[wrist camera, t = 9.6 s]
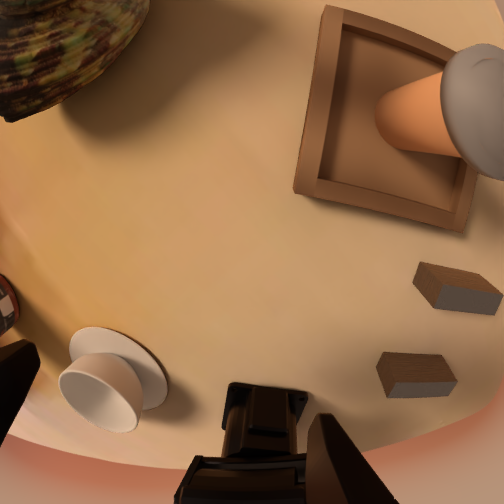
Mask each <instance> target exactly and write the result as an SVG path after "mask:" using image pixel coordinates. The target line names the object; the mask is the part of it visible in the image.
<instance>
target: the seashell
mask: <svg viewBox="0 0 504 504" xmlns="http://www.w3.org/2000/svg"><path fill="white" fill-rule="evenodd" d="M149 3H150V0H0V116H2V117H4V119H5V121H6V122H10V123H13V122H16V121H18V120H20V119H23V118H26V117H28V116H31V115H33V114H36V113H39V112H41V111H44V110H47V109H49V108H51V107H53V106H54V105H57V104H59V103H61V102H62V101H63V100H65V99H66V98H68V97H69V96H71V95H72V94H74V93H75V92H77V91H78V90H79V89H81V88H82V87H83V86H84V85H86V84H88V83H90V82H91V81H93V80H94V79H95V78H97V77H98V76H99V75H101V74H102V73H103V72H104V71H105V70H106V69H107V68H108V67H109V66H110V65H111V64H112V63H113V62H114V61H115V60H116V58H117V57H118V56H119V54H120V53H121V52H122V51H123V49H124V48H125V47H126V46H127V45H128V44H129V43H130V41H131V40H132V38H133V37H134V36H135V35H136V34H137V33H138V31H139V30H140V28H141V26H142V25H143V23H144V21H145V18H146V16H147V14H148V11H149V8H150V5H149Z"/></svg>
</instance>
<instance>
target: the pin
mask: <svg viewBox="0 0 504 504" xmlns="http://www.w3.org/2000/svg"><path fill="white" fill-rule="evenodd" d="M375 123H376V127H377V129H378V131H379V133H380V135H381V136H382V138H383V139H384V140H385V141H386V142H387V143H388V144H390V145H391V146H393V147H394V148H397V149H401V150H409V151H418V152H426V153H434V154H441V155H448V156H455V157H461V158H463V160H464V161H465V162H466V163H467V164H468V165H469V166H470V167H471V168H472V169H474V170H475V171H476V172H478V173H480V174H482V175H484V176H487V177H490V178H494V179H498V180H501V181H504V50H502V49H501V48H499V47H496V46H494V45H490V44H476V45H474V46H471V47H468V48H466V49H463V50H460V51H458V52H457V53H455V54H454V55H453V56H452V57H451V58H450V59H449V61H448V62H447V64H446V66H445V68H444V70H443V72H440V73H437V74H434V75H431V76H429V77H426V78H423V79H420V80H418V81H415V82H412V83H410V84H407V85H404V86H402V87H399V88H397V89H394V90H391V91H389V92H387V93H385V94H384V95H383V96H382V97H381V98H380V99H379V101H378V103H377V105H376V108H375Z"/></svg>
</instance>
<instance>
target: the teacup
mask: <svg viewBox="0 0 504 504" xmlns="http://www.w3.org/2000/svg"><path fill="white" fill-rule="evenodd" d="M69 352H70V357H71V361H72V364H71V365H70V366H69V367H68V368H67V369H65V370H64V371H63V372H62V373H61V375H60V377H59V381H58V383H59V388H60V391H61V393H62V395H63V397H64V399H65V400H66V402H67V403H68V404H69V405H70V406H71V408H72V409H73V410H74V411H75V412H77V413H78V414H79V415H80V416H81V417H83V418H84V419H85V420H87V421H88V422H90V423H92V424H93V425H95V426H97V427H99V428H102V429H104V430H107V431H110V432H115V433H128V432H131V431H133V430H134V429H135V428H136V427H137V425H138V422H139V418H140V415H141V411H142V410H149V409H153V408H156V407H158V406H159V405H160V404H162V403H163V402H164V400H165V398H166V396H167V392H168V386H167V381H166V378H165V375H164V373H163V371H162V370H161V368H160V366H159V365H158V364H157V362H156V361H155V360H154V359H153V357H152V356H151V355H150V354H149V353H148V352H147V351H146V350H144V349H143V348H142V347H141V346H139V345H138V344H137V343H135V342H134V341H132V340H131V339H129V338H128V337H126V336H124V335H122V334H120V333H118V332H115V331H112V330H109V329H106V328H101V327H87V328H83V329H81V330H79V331H77V332H76V333H75V334H74V335H73V337H72V338H71V341H70V345H69Z"/></svg>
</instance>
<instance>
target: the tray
mask: <svg viewBox="0 0 504 504" xmlns="http://www.w3.org/2000/svg"><path fill="white" fill-rule="evenodd" d="M455 53H457V52H455V51H453V50H451V49H449V48H447V47H445V46H443V45H441V44H439V43H437V42H435V41H433V40H430V39H428V38H426V37H424V36H421V35H419V34H417V33H414V32H412V31H409V30H407V29H404V28H402V27H399V26H396V25H394V24H391V23H388V22H385V21H382V20H379V19H376V18H373V17H370V16H367V15H364V14H360V13H357V12H353V11H350V10H346V9H342V8H338V7H334V6H330V5H326V6H325V8H324V11H323V13H322V16H321V22H320V29H319V36H318V43H317V49H316V56H315V62H314V69H313V75H312V81H311V87H310V93H309V99H308V105H307V111H306V117H305V123H304V129H303V135H302V140H301V146H300V151H299V157H298V162H297V168H296V173H295V179H294V184H293V190H294V193H295V194H301V195H306V196H311V197H316V198H321V199H326V200H331V201H335V202H340V203H345V204H349V205H354V206H358V207H363V208H367V209H371V210H376V211H380V212H384V213H388V214H392V215H396V216H400V217H404V218H408V219H412V220H416V221H420V222H424V223H427V224H431V225H435V226H438V227H442V228H446V229H449V230H453V231H456V232H460V233H463V231H464V228H465V224H466V221H467V217H468V213H469V209H470V205H471V201H472V197H473V193H474V189H475V184H476V180H477V175H478V172H476V171H475V170H474V169H472V168H471V167H470V166H469V165H468V164H467V163H466V162H465V161H464V160H463V158H461V157H455V156H448V155H441V154H434V153H426V152H418V151H409V150H401V149H397V148H394V147H393V146H391V145H390V144H388V143H387V142H386V141H385V140H384V139H383V138H382V136H381V135H380V133H379V131H378V129H377V127H376V123H375V108H376V105H377V103H378V101H379V99H380V98H381V97H382V96H383V95H384V94H385V93H387V92H389V91H391V90H394V89H397V88H399V87H402V86H404V85H407V84H410V83H412V82H415V81H418V80H420V79H423V78H426V77H429V76H431V75H434V74H437V73H440V72H443V70H444V68H445V66H446V64H447V62H448V61H449V59H450V58H451V57H452V56H453V55H454V54H455Z"/></svg>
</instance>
